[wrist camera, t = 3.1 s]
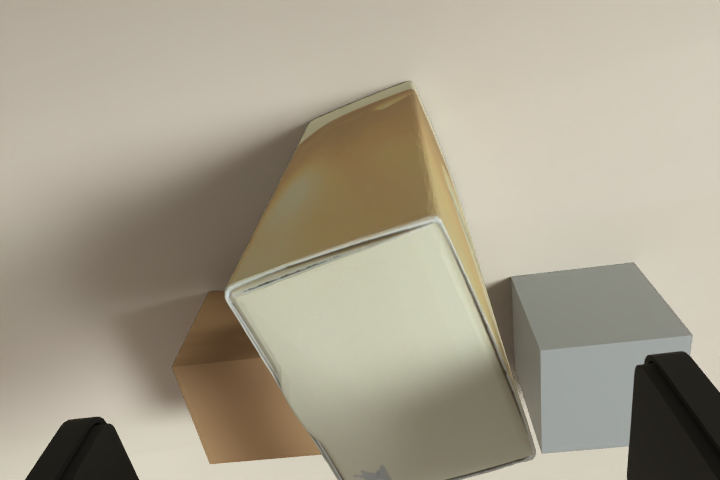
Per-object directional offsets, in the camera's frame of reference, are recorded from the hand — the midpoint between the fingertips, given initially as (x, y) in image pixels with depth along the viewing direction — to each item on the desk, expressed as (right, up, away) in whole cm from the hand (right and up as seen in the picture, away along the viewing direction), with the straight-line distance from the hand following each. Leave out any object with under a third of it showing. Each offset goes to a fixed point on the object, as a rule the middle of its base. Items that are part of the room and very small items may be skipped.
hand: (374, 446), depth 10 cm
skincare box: (+1, +7, +12) cm, 13 cm away
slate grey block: (+9, 0, +14) cm, 17 cm away
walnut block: (-4, 0, +15) cm, 16 cm away
